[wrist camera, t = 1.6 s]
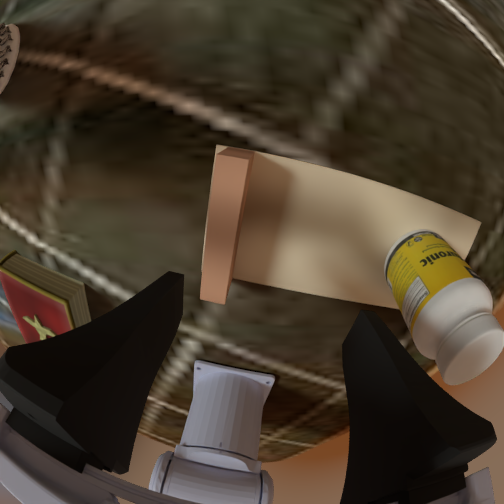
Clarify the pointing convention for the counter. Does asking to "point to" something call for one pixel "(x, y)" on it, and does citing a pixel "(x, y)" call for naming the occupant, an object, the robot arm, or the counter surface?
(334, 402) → the counter surface
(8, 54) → the decorative candle
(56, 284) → the hardcover book
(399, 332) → the counter surface
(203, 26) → the counter surface
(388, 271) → the supplement bottle
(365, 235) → the strip
